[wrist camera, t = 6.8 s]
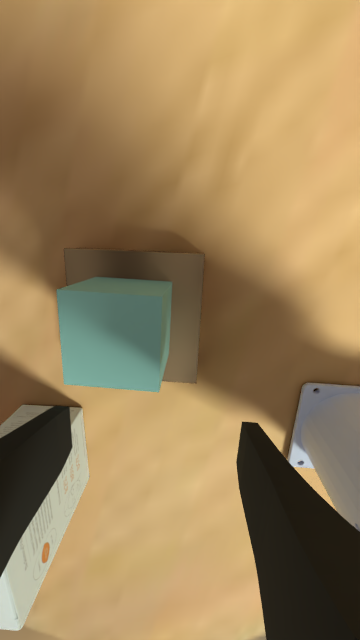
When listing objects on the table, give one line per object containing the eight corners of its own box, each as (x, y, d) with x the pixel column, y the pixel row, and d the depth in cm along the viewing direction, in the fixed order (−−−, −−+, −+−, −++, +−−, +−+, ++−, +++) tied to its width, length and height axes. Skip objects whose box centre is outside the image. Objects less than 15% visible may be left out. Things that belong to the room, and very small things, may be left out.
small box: (23, 402, 23) (-113, 524, 13) (84, 405, 23) (-5, 534, 13) (35, 473, 25) (-73, 625, 15) (91, 477, 25) (19, 635, 15)
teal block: (172, 281, 17) (162, 296, 12) (168, 353, 18) (159, 392, 13) (96, 276, 17) (56, 289, 12) (98, 347, 18) (64, 384, 14)
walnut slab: (203, 253, 19) (204, 254, 16) (196, 365, 22) (196, 383, 19) (83, 247, 19) (63, 248, 17) (90, 358, 22) (74, 375, 19)
